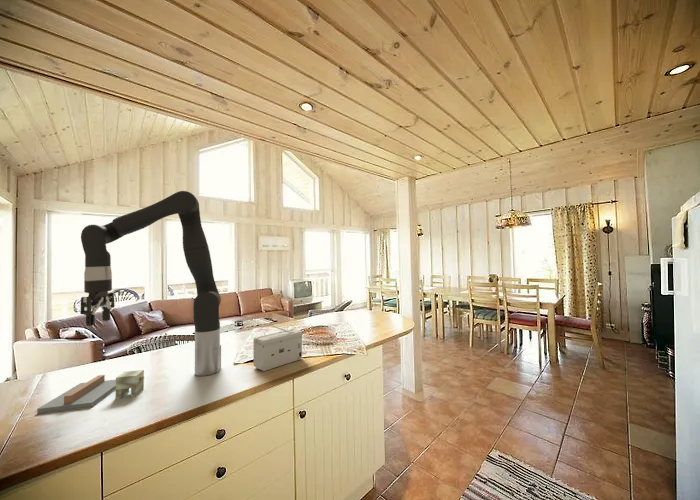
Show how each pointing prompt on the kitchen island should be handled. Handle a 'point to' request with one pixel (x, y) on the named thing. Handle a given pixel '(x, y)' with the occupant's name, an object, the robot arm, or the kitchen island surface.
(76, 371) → the kitchen island surface
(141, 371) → the sage block
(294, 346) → the stereo radio cassette player
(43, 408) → the cleat board
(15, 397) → the kitchen island surface
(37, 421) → the kitchen island surface
